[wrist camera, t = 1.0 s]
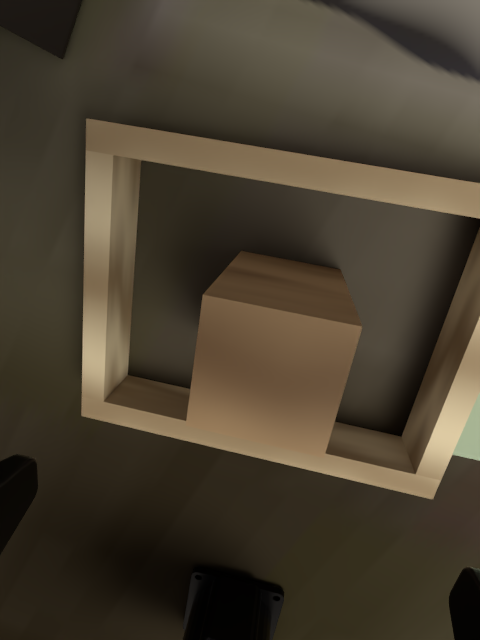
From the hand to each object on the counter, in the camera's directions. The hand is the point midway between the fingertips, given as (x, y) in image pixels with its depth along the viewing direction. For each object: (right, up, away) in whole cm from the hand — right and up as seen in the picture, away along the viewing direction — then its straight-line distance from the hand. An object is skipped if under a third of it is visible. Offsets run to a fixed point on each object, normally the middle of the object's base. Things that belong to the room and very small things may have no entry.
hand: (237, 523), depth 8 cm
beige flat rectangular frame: (+2, +5, +12) cm, 13 cm away
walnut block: (+2, +5, +12) cm, 14 cm away
